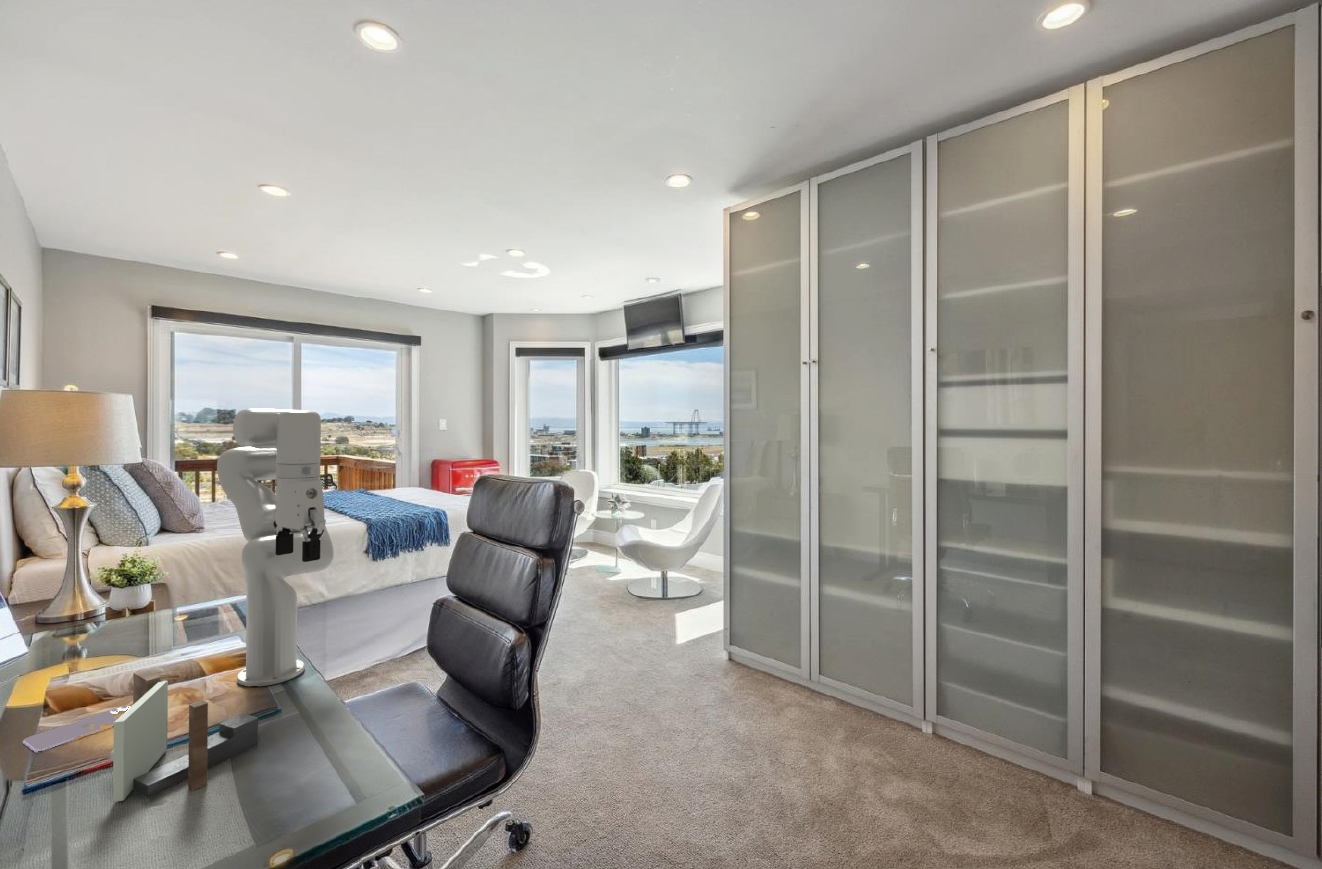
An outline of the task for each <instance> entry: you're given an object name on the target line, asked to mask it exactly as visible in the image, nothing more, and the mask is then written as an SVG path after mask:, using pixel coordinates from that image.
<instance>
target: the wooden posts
mask: <svg viewBox="0 0 1322 869" xmlns="http://www.w3.org/2000/svg"><path fill="white" fill-rule="evenodd" d="M132 675H133V681H132V682H133V683H132V684H133V687H132V691H133V694H132V700H133V701H132V702H133V703H132V705H134V704H135V703H136V702H137V701H138V700H139V699H140V698H141V697H143V696H144V695H145V694H146V693H147V692H148V691H149V690H150V689H151V688H153V687H154V686H155V685H156V684H157V683H158V682H161V676H160V675H158V674H156V673H154V672H152V671H151V670H149V669H147V668H146V669H143V670H139V671H135V672H133V674H132ZM208 724H209V703H208V702H207V701H206V700H203V699H201V700H199V701H195V702H193V703H190V704H188V754H189V764H188V780H187V781H188V784H187V785H188V786H187V787H188V788H190V789H191V790H192V791H195V790H197V789H200V788H203V787H205V786H206V785H208V770H207V758H208V736H209V734H208V733H209V731H208V730H209V725H208Z"/></svg>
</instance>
